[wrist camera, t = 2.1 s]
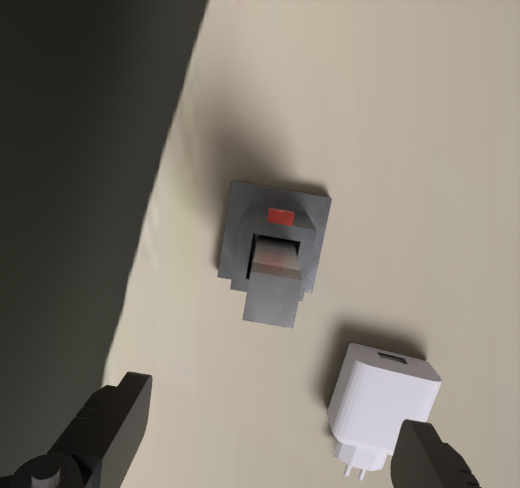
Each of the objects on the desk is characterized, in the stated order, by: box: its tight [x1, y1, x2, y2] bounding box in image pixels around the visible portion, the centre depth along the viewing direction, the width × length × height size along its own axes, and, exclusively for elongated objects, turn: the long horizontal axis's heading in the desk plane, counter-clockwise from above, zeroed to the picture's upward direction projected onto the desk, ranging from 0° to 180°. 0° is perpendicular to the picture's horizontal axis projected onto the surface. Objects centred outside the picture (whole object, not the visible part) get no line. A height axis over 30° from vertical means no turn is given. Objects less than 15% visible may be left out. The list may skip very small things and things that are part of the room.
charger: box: [327, 343, 442, 480], centre depth 43 cm, size 5×9×15 cm
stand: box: [217, 180, 332, 302], centre depth 36 cm, size 10×10×10 cm
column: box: [243, 234, 303, 329], centre depth 31 cm, size 3×3×17 cm
